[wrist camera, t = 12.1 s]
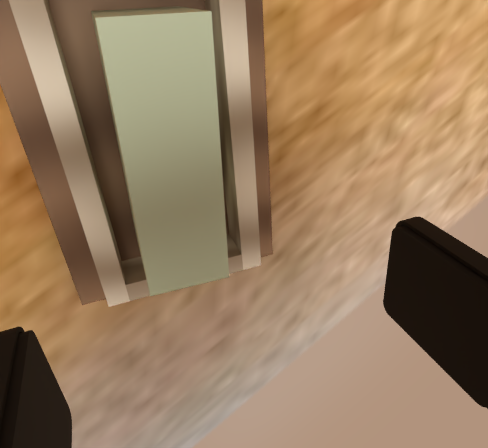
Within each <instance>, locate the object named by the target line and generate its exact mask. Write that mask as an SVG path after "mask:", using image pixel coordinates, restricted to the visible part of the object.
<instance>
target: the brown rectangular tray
mask: <svg viewBox="0 0 488 448" xmlns="http://www.w3.org/2000/svg"><path fill="white" fill-rule="evenodd" d="M177 6H179V7H186V8H193V9H200V10H207V11H212V26H213V41H214V56H215V71H216V86H217V101H218V116H219V131H220V146H221V161H222V176H223V190H224V205H225V220H226V235H227V250H228V265H229V274H231V273H235V272H238V271H242V270H246V269H249V268H253V267H257V266H260V265H261V257H263V256H267V255H271V254H273V250H272V226H271V201H270V177H269V153H268V128H267V104H266V79H265V55H264V31H263V6H262V0H0V85H1V87H2V90H3V93H4V95H5V98H6V101H7V103H8V106H9V109H10V112H11V114H12V117H13V120H14V122H15V125H16V128H17V130H18V133H19V136H20V139H21V141H22V144H23V147H24V149H25V152H26V155H27V157H28V160H29V163H30V166H31V168H32V171H33V174H34V176H35V179H36V182H37V184H38V187H39V190H40V193H41V195H42V198H43V201H44V203H45V206H46V209H47V211H48V214H49V217H50V219H51V222H52V225H53V228H54V230H55V233H56V236H57V238H58V241H59V244H60V246H61V249H62V252H63V255H64V257H65V260H66V263H67V265H68V268H69V271H70V273H71V276H72V279H73V282H74V284H75V287H76V290H77V292H78V295H79V298H80V300H81V303H82V305H85V304H88V303H92V302H96V301H100V300H103V299H106V300H107V303H108V306H109V307H111V306H114V305H118V304H122V303H125V302H129V301H133V300H136V299H140V298H143V297H147V296H150V293H149V288H148V284H147V280H146V276H145V271H144V267H143V263H142V258H141V254H140V250H139V245H138V241H137V237H136V232H135V227H134V222H133V217H132V212H131V207H130V202H129V197H128V192H127V187H126V182H125V177H124V172H123V167H122V162H121V157H120V152H119V147H118V142H117V137H116V132H115V127H114V122H113V117H112V112H111V107H110V102H109V98H108V93H107V88H106V83H105V78H104V73H103V68H102V63H101V58H100V53H99V48H98V43H97V38H96V33H95V28H94V23H93V18H92V13H91V11H100V10H119V9H138V8H157V7H177Z"/></svg>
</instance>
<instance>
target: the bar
mask: <svg viewBox="0 0 488 448" xmlns="http://www.w3.org/2000/svg"><path fill="white" fill-rule="evenodd" d="M91 13H92V18H93V23H94V28H95V33H96V38H97V43H98V48H99V53H100V58H101V63H102V68H103V73H104V78H105V83H106V88H107V93H108V98H109V102H110V107H111V112H112V117H113V122H114V127H115V132H116V137H117V142H118V147H119V152H120V157H121V162H122V167H123V172H124V177H125V182H126V187H127V192H128V197H129V202H130V207H131V212H132V217H133V222H134V227H135V232H136V237H137V241H138V245H139V250H140V254H141V258H142V263H143V267H144V271H145V276H146V280H147V284H148V288H149V293H150V296H154V295H158V294H162V293H166V292H170V291H175V290H179V289H183V288H187V287H191V286H195V285H199V284H203V283H207V282H211V281H216V280H220V279H224V278H228V277H229V265H228V250H227V235H226V220H225V205H224V190H223V176H222V161H221V146H220V131H219V116H218V101H217V86H216V71H215V56H214V41H213V26H212V11H207V10H200V9H193V8H186V7H179V6H177V7H157V8H138V9H119V10H100V11H91Z"/></svg>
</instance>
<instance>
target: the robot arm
mask: <svg viewBox="0 0 488 448" xmlns="http://www.w3.org/2000/svg"><path fill="white" fill-rule="evenodd" d="M383 304H384V308H385V310H386V312H387V313H388V315H389V316H391V318H392V319H393V320H394V321H395V322H396V323H397V324H398V325H399V326H400V327H402V329H403V330H404V331H405V332H407V334H408V335H409V336H410V337H411V338H412V339H413V340H415V342H416V343H417V344H418V345H419V346H420V347H422V349H423V350H425V352H427V354H428V355H429V356H430V357H431V358H432V359H434V361H436V363H438V365H440V367H441V368H443V370H444V371H445V372H446V373H447V374H448V375H450V377H452V379H453V380H455V382H456V383H458V385H459V386H461V387H462V389H463V390H464V391H465V392H466V393H468V395H470V397H472V398H473V399H474V400H475V402H477V403H478V404H479V405H481V406H482V407H487V408H488V258H487V257H485V256H483V255H482V254H480V253H478V252H477V251H475V250H474V249H472V248H470V247H469V246H467V245H466V244H464V243H462V242H461V241H459V240H457V239H456V238H454V237H453V236H451V235H449V234H448V233H446V232H445V231H443V230H441V229H440V228H438V227H436V226H435V225H433V224H432V223H430V222H428V221H427V220H425V219H424V218H421V217H413V218H410V219H406V220H403V221H400V222H398V223H397V225H396V227H395V228H394V229H393V231H392V236H391V244H390V252H389V260H388V268H387V276H386V284H385V293H384V300H383ZM71 447H72V419H71V413H70V409H69V406H68V404H67V402H66V400H65V398H64V395H63V393H62V391H61V389H60V387H59V385H58V383H57V380H56V378H55V376H54V374H53V372H52V370H51V367H50V365H49V363H48V361H47V359H46V357H45V354H44V352H43V350H42V348H41V346H40V344H39V341H38V339H37V337H36V335H35V333H34V332H33V331H32V330H30V331H27V332H25V331H24V330H23V328H22V327H16V328H13V329H9V330H5V331H2V332H0V448H71Z"/></svg>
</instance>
